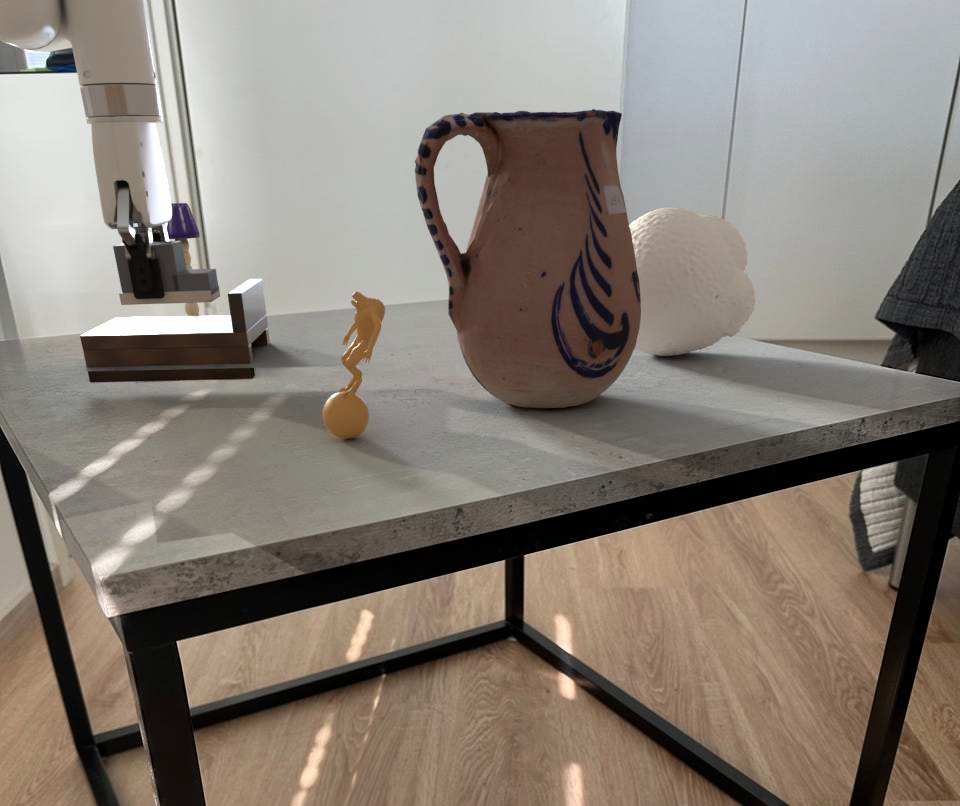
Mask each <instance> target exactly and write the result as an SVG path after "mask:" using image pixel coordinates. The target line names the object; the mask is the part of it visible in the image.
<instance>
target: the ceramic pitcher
mask: <svg viewBox="0 0 960 806" xmlns="http://www.w3.org/2000/svg"><path fill="white" fill-rule="evenodd" d="M622 116H623V113H621V112H619V111H616V110H603V109H595V108H592V109H590V110H580V111H579V110H578V111H569V112H568V111H561V112H558V111H537V112H536V111H533V112H532V111H528V110H517V111H513V112H502V113H501V112H498V111H493V112H490V111H489V112H483V111H482V112H480V111H479V112H478V111H477V112H473V113H470V114H467V113H464V112H460V113H455V114H446V115H443V116H441V117H440V118H439V119H438V120H436V121H435V122H433V123H431V124H430V125H429V126H427V127H426V128H425V130H424V133H423V135H422V138H421V141H420V143H419V146H418V149H417V156H416V157H415V160H414V163H415V168H414V178H415V187H416V194H417V198H418V202H419V205H420V209H421V211H422V214H423V218H424V221H425V225H426V227H427V230H428V232H429V235H430V236H431V239H432V241H433V243H434V246H435V248H436V252H437V254H438V257H439V258H440V261H441V264H442V266H443V269H444V272H445V275H446V279H447V282H448V302H447V313H448V316H449V318H450V320H451V322H452V325H453V326H454V328H455V330H456V337H457V342H458V346H459V349H460V352H461V355H462V356H463V357H462V358H463V360H464V363H465V365H466V366H467V367H468V369H469V372H470V373H471V375H472V377H474V379H475V380H476V382H477V383H478V384H480V386H482V388H483V389H484V390H485V391H487V392H488V393H489V394H490V395H492V396H493V397H495V398H496V399H497V400H499V401H501V402H503V403H506V404H508V405H512V406H514V407H518V408H533V409H567V408H569V407H575V406H580V405H586V404H587V403H588V402H590V401H593V400H595V399H596V398H598V397H599V396H601V395H602V394H604V392H606V391H608V389H609V388H610V387H611V386H612V385H613V384H614V383H615V382H616V381H617V380H618V379H619V377H620V376H621V375H622V373H623V372H624V371H625V368H626V367H627V365H628V363H629V361H630V360H631V357H632V356H633V353H634V351H635V349H634V348H635V346H636V342H637V337H638V333H639V328H640V320H641V299H640V285H639V278H638V273H637V266H636V258H635V252H634V247H633V241H632V235H631V231H630V227H629V225H630V222H629V218H628V212H627V207H626V202H625V201H626V200H625V198H624V197H625V196H624V194H623V190H622V186H621V180H620V173H619V168H618V157H617V155H618V154H617V147H618V138H619V130H620V125H621V120H622ZM458 136H464V137H466V136H468V137H471V138H473V139H474V140H475V141H476V143H478V144H479V145H480V147H481V149H482V151H483V155H484V159H485V163H486V168H487V169H486V170H487V174H486V177H485V181H484V186H483V189H482V191H481V195H480V198H479V203H478V207H477V211H476V215H475V217H474V221H473V225H472V230H471V233H470V236H469V239H468V243H467V245H466V247H467V248H466V251H465V252H461V250H460V248H459V246H458V245H457V243H456V242H455V240H454V239H453V237H452V236H451V234H450V233H449V229H448V226H447V223H446V222H445V220H444V217H443V215H442V212H441V209H440V205H439V198H438V194H437V187H436V184H435V166H436V163H437V159H438V156H439V154H440V152H441V150H442V149H443V147H444V145H445V144H446V143H447V142H448V141H451V140H452V139H454V138H456V137H458Z"/></svg>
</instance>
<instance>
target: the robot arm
mask: <svg viewBox="0 0 960 806" xmlns="http://www.w3.org/2000/svg"><path fill="white" fill-rule="evenodd" d="M0 42H2V43H5V44H9V45H11V46H13V47H16V48H18V49H21V50H23V51H26V52H30V53H50V52H56V51H60V50H66V49H72V53H73V59H74V63H75V64H74V65H75V68H76V74H77V80H78V85H79V86H80V87H79V90H80V94H81V100H82V104H83V109H84V115H85V121H86V124H87V125H91V126H90V129H91V130H90V131H91V142H92V143H91V144H92V145H91V146H92V153H93V162H94V169H95V177H96V183H97V188H98V195H99V201H100V207H101V213H102V219H103V223H104V224H105V226H106V227H107V228H109V229H110V230H117V233H118V234H119V237H120V238H121V243H124V248H125V255H126V258H127V262H128V267H129V272H130V277H131V283H132V288H133V293H134V297H135V298H136V299H160V298H163V297H164V295H165V294H164V288H163V282H162V277H161V271H160V265H159V260H158V259H154V247H153V242H158V241H170V239H169V238H168V233H167V232H168V230H167V223H168V222H169V221H170V220H171V218H172V207H171V203H172V201H171V192H170V187H169V181H168V176H167V171H166V165H165V160H164V156H163V152H162V147H161V142H160V138H159V133H158V130H157V126H156V124H158V123H161V124H162V123H164V117H163V113H162V112H163V111H162V107H161V106H162V105H161V100H160V94H159V88H158V82H157V77H156V71H155V64H154V59H153V53H152V46H151V41H150V33H149V27H148V21H147V14H146V9H145V3H144V0H0ZM135 224H136V225H137V226H135ZM144 242H145V243H144Z"/></svg>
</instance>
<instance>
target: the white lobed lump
mask: <svg viewBox="0 0 960 806" xmlns="http://www.w3.org/2000/svg"><path fill="white" fill-rule="evenodd" d="M768 216H770V215H768ZM629 227H630V231H631V235H632V241H633V247H634V252H635V258H636V266H637V273H638V278H639V285H640V299H641V320H640V328H639V333H638V337H637V342H636V346H635V348H634V351H635V350H638V351H639V352H642V353H645V354H649V355H653V356H659V357H670V356H679V355H684V354H686V353H691V352H695V351H698V350H699V351H700V350H703V349H706V348H708V347H712V346H713V345H714V344H716V343H718V342H719V341H720V340H722V338H724V337H725V338H726V337H727V336H728V337H730V338H732V337H734V336H736V335H737V334H738V333H740V332H741V329H742V327H743V326H744V325H746V322H748V321H749V320H750V317H751V316H752V314H753V312H754V310H755V307H754V306H755V303H756V297H755V295H756V291H755V289H754V283H752V280H751V279H750V278H749V276H748V273H747V272H744V271H745V270H746V267H747V264H748V252H747V246H746V242H745V241H744V239H743V237H742V234H740V232H739V230H738V229H737V228H736V227H735V226H733V224H731V222H728V221H727V220H726V219H724V218H721V217H718V216H715V215H710V214H697V213H696V212H694V211H691V210H687V209H684V208H680V207H669V206H667V207H662V208H661V207H660V208H657V209H655V210H650V211H649V212H647V213H646V212H645V214H642V215H641V216H639V217H638V218H637V219H635V220H633V221H632V222H631V223H629Z"/></svg>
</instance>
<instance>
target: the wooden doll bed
mask: <svg viewBox="0 0 960 806" xmlns="http://www.w3.org/2000/svg"><path fill="white" fill-rule="evenodd" d="M227 299H228V301H227V302H228V306H229V307H228V308H229V314H221V315H217V314H215V315H199V316H188V315H180V316H179V315H173V316H171V315H169V316H132V317H131V316H130V317H129V316H127V317H125V316H124V317H122V316H121V317H115V318H113V319H111V320H108V321H107V322H105V323H103V324H100V325H98V326H96V327H94V328H93V329H90V330H89V331H87V332H85V333H83V334H81V335H80V336H79V338H80V342H81V348H82V351H83V357H84V361H85V367H86V368H123V367H124V368H125V367H127V368H128V367H131V368H132V367H166V366H167V367H168V366H169V367H173V366H208V365H209V366H218V365H221V366H222V365H251V364H252V363H253V362H254V356H253V355H254V354H253V348H252V347H262V346H263V347H265V346H267V347H268V346H269V345H270V344H271V342H270V341H271V340H270V332H269V325H268V324H269V323H268V316H267V308H266V299H265V291H264V282H263V278H249V279H248V280H246V281H245V282H243V283H242V284H240V285H238V286H237V287H235V288H234V289H233V290H230V291H229V292H228V293H227ZM255 370H256V369H255V367H219V368H215V367H213V368H176V369H174V368H172V369H129V370H128V369H127V370H126V369H124V370H121V369H120V370H87V375H88V380H89V383H123V382H124V383H129V382H130V383H131V382H134V383H135V382H172V381H173V382H175V381H177V382H179V381H181V380H182V381H218V380H219V381H221V380H222V381H223V380H253V379H254V378H255V377H256V372H255Z"/></svg>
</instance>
